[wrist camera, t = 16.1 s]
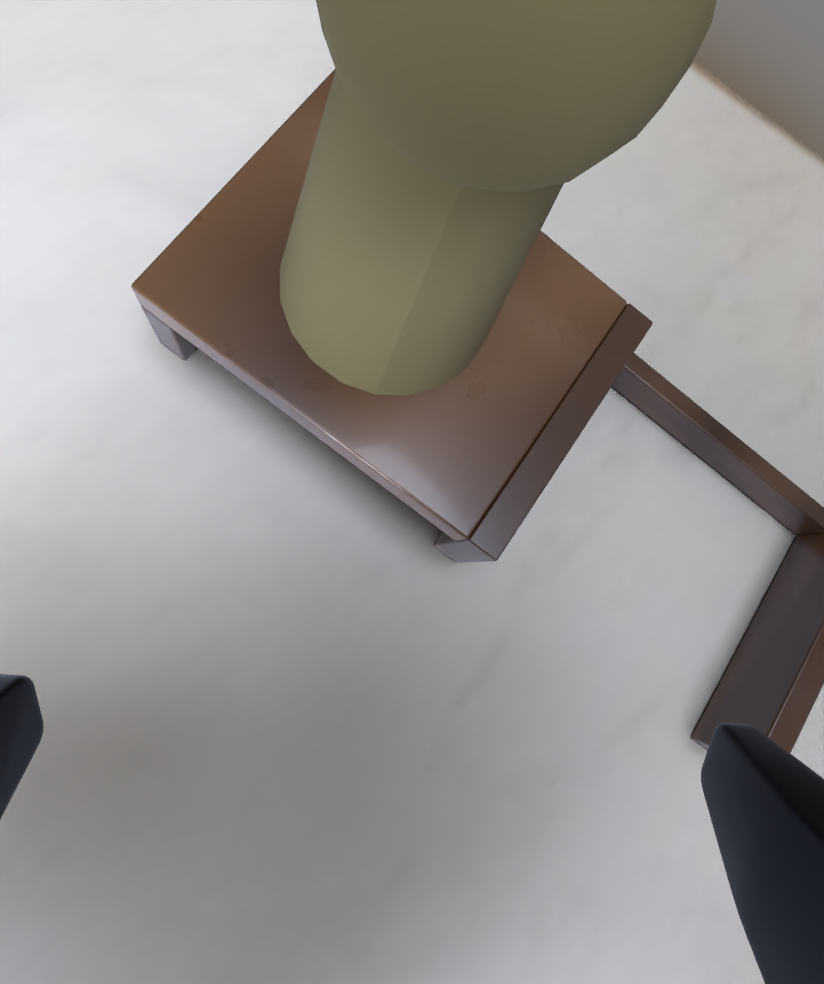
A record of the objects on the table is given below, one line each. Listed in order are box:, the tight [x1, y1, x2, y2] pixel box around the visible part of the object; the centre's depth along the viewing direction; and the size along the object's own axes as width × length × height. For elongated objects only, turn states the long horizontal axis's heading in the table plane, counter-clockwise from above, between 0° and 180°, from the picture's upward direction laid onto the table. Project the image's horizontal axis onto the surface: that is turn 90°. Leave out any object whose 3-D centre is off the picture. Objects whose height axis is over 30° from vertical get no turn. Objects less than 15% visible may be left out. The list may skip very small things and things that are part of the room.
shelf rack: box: [131, 68, 824, 753], centre depth 20 cm, size 24×10×4 cm, turn 55°
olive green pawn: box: [280, 0, 716, 396], centre depth 12 cm, size 6×6×11 cm
